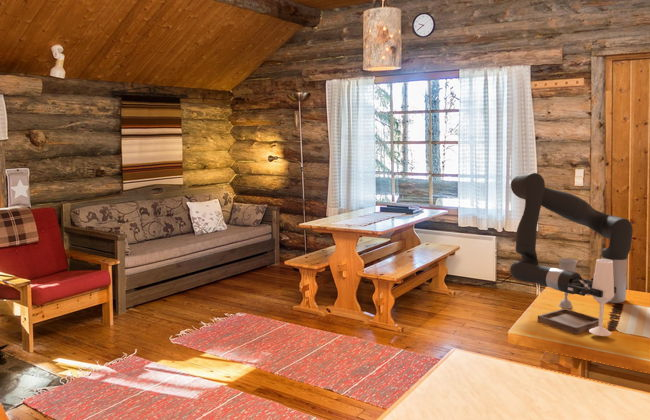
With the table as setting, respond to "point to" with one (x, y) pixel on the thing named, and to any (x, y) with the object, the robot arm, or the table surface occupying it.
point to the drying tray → (569, 321)
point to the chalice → (570, 266)
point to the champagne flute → (606, 284)
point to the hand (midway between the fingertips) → (608, 292)
